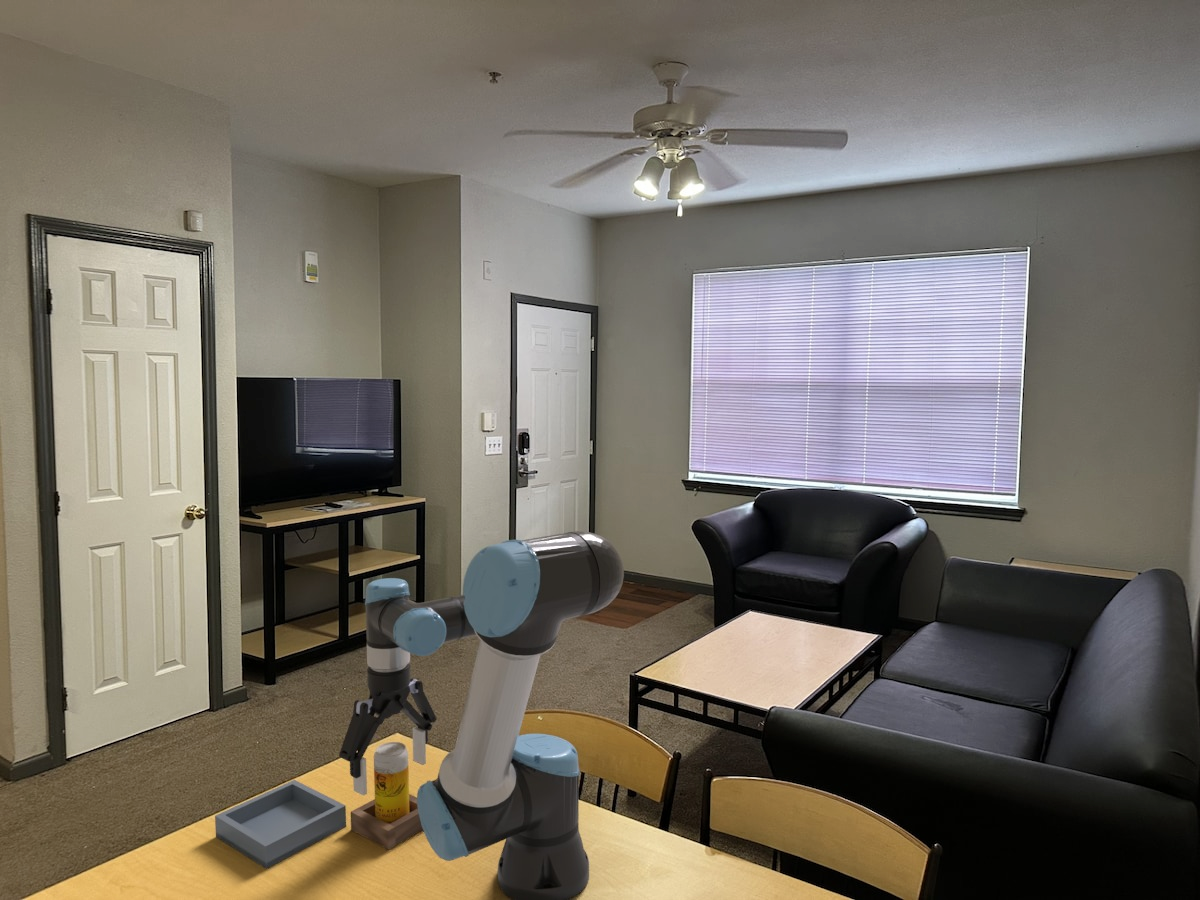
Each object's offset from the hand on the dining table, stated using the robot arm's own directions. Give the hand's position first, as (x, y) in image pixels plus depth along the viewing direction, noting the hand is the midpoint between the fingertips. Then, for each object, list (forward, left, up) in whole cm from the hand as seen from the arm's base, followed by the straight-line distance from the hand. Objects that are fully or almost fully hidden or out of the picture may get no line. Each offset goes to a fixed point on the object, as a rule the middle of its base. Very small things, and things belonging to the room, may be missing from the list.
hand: (390, 777), depth 149 cm
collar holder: (0, 0, -9) cm, 9 cm away
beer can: (0, 0, -10) cm, 10 cm away
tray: (+15, +13, -9) cm, 22 cm away
